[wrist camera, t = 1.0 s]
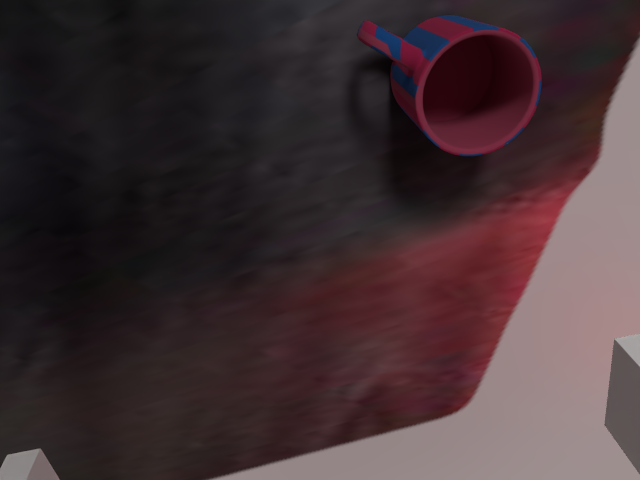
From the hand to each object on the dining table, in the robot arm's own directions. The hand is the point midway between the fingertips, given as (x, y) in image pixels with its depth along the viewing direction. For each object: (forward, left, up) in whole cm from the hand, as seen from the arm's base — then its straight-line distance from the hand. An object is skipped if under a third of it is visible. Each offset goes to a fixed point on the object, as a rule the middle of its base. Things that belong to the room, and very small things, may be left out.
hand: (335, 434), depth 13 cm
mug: (-1, +9, -26) cm, 27 cm away
